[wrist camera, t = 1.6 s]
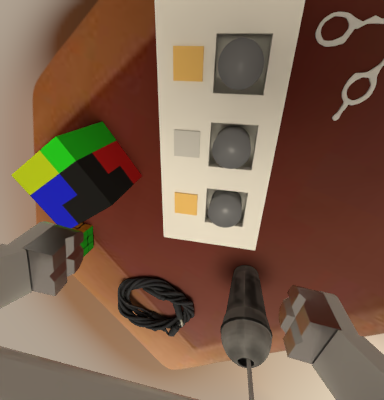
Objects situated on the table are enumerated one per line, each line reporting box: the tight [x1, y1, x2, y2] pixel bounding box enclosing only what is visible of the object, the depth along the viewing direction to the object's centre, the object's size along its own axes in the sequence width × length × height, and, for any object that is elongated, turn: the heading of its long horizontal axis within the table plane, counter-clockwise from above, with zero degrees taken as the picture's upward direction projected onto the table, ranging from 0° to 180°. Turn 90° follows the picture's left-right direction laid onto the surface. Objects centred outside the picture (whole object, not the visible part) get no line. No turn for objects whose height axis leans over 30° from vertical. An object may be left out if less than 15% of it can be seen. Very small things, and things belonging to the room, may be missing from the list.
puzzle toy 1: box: [12, 121, 142, 228], centre depth 34 cm, size 10×10×10 cm
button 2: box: [208, 190, 242, 228], centre depth 32 cm, size 4×4×4 cm
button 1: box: [218, 38, 264, 90], centre depth 24 cm, size 4×4×4 cm
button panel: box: [155, 0, 305, 250], centre depth 30 cm, size 14×30×5 cm, turn 179°
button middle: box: [212, 125, 251, 169], centre depth 28 cm, size 4×4×4 cm
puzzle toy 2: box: [71, 223, 93, 257], centre depth 45 cm, size 6×5×6 cm
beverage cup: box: [221, 265, 272, 400], centre depth 35 cm, size 7×7×20 cm
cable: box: [118, 278, 194, 336], centre depth 50 cm, size 17×14×4 cm
